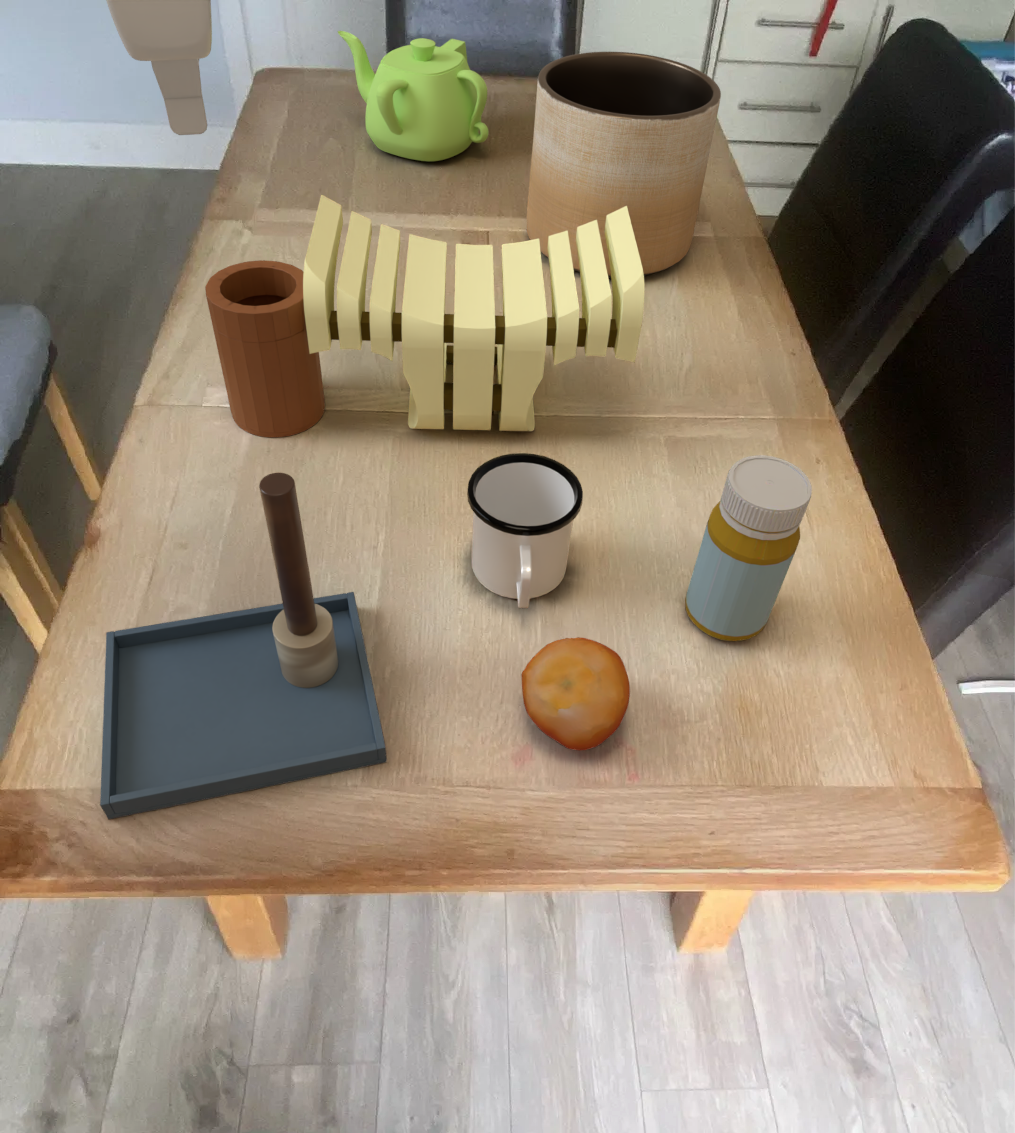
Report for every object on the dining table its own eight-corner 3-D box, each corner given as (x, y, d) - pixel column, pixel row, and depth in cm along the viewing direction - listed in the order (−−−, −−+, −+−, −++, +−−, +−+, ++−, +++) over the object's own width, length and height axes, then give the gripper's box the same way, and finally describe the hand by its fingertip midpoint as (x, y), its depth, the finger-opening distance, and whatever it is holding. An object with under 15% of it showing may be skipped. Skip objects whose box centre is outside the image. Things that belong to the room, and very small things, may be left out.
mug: (465, 526, 83) (467, 450, 76) (568, 529, 83) (578, 453, 77) (464, 628, 75) (466, 553, 68) (578, 630, 75) (591, 555, 69)
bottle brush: (284, 693, 69) (243, 512, 55) (278, 648, 72) (238, 465, 58) (342, 682, 70) (316, 501, 56) (334, 638, 73) (308, 456, 59)
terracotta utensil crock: (235, 443, 89) (207, 318, 79) (229, 387, 95) (203, 264, 85) (330, 431, 91) (316, 307, 81) (319, 377, 97) (304, 256, 87)
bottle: (667, 613, 77) (704, 480, 66) (713, 571, 81) (755, 439, 70) (736, 659, 74) (786, 529, 63) (780, 613, 78) (835, 482, 67)
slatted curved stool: (321, 441, 90) (299, 278, 77) (337, 350, 101) (321, 194, 88) (619, 448, 92) (648, 289, 79) (603, 358, 103) (626, 205, 90)
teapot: (499, 163, 137) (503, 59, 126) (368, 174, 132) (361, 67, 121) (465, 115, 149) (466, 17, 138) (344, 124, 144) (336, 22, 133)
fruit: (662, 689, 70) (645, 667, 62) (602, 774, 69) (578, 761, 62) (580, 633, 73) (555, 606, 66) (522, 713, 72) (491, 694, 65)
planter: (652, 199, 131) (678, 46, 116) (716, 276, 117) (755, 113, 102) (506, 210, 126) (514, 53, 111) (554, 292, 112) (570, 124, 97)
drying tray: (108, 819, 62) (99, 805, 60) (113, 647, 72) (106, 631, 70) (386, 762, 66) (385, 747, 64) (355, 607, 76) (353, 591, 74)
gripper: (55, -278, 45) (127, 32, 55) (18, -216, 31) (122, 179, 42) (187, -273, 46) (234, 29, 56) (206, -212, 33) (262, 170, 43)
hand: (187, 94), depth 49 cm, fingers open, 8 cm apart
